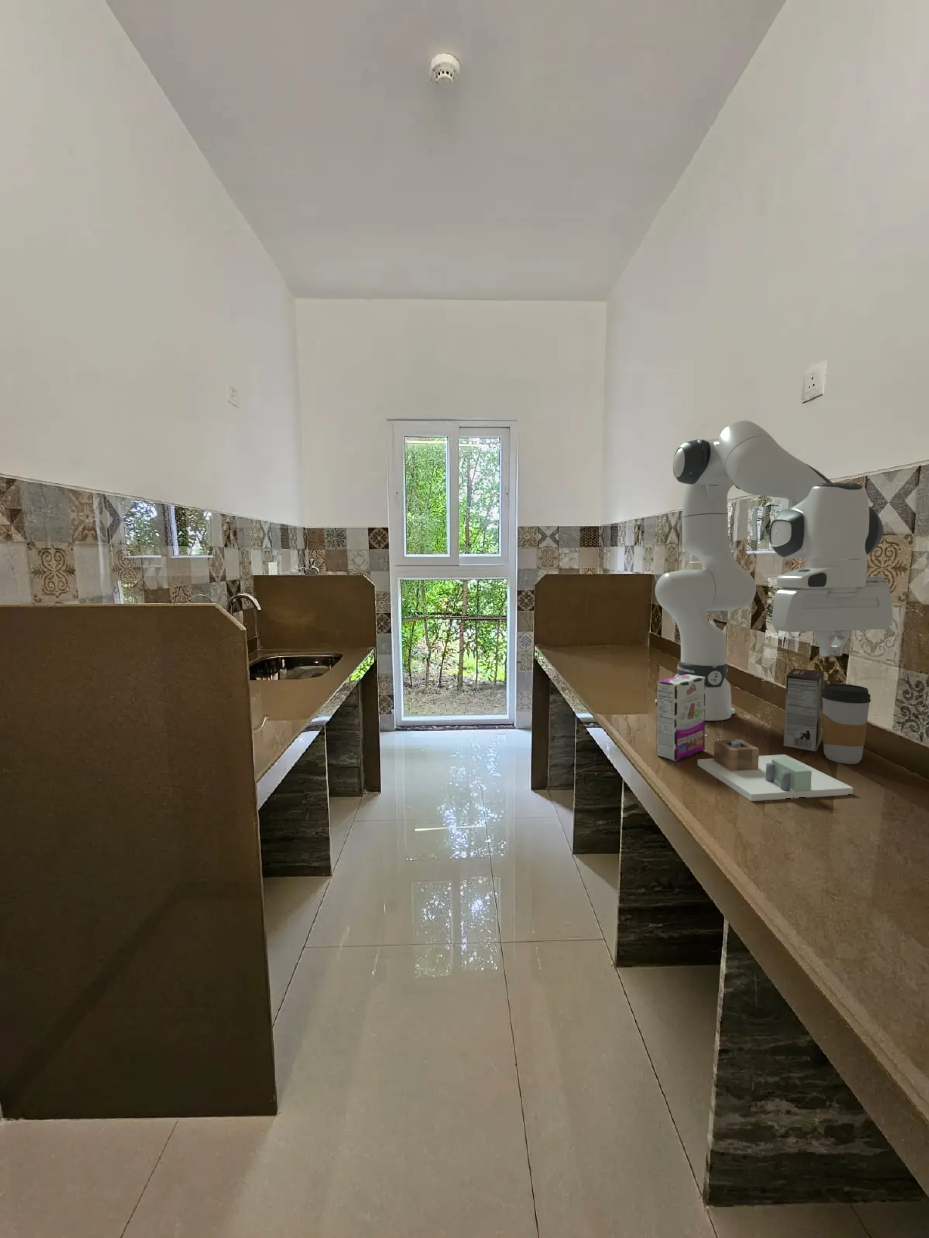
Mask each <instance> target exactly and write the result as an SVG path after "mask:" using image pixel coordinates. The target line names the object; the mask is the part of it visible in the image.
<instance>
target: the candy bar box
mask: <svg viewBox="0 0 929 1238" xmlns="http://www.w3.org/2000/svg"><path fill="white" fill-rule="evenodd" d="M656 699H657V704H656V756H657V757H659V756H661V757H664V758H663V759H665V758H666V759H665V760H667V761H669V760H670V761H672V762H679V761H681V760H684V759H686V758H689V757H692V756H694V755H696V754H698V753H701V752H703V751H705V747H706V746H705V743H706V734H705V733H706V730H705V728H706V720H705V677H702V676H696V675H691V674H685V675H681V676H677V677H674V676H673V677H669V678H665V679H661V680H656ZM661 757H660V758H661Z"/></svg>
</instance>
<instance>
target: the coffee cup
mask: <svg viewBox="0 0 929 1238" xmlns="http://www.w3.org/2000/svg"><path fill="white" fill-rule="evenodd" d="M821 697H822V701H823V710H822V741H823V754H824V755H825V758H826V759H828V760H830V761H833V762H835V763H840V764H848V765H849V764H850V765H854V764H857V765H858V764H859V763H860V762H861V760H862V758H863V753H864V752H863V751H864V747H865V742H866V733H867V728H868V717H869V716H868V715H869V708H870V703H871V701H872V700H871V693H869V688H867V687H864V686H862V685H861V686H860V685H854V684H846V683H827V684H824V686H823V690H822V695H821Z"/></svg>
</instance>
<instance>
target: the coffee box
mask: <svg viewBox="0 0 929 1238" xmlns="http://www.w3.org/2000/svg"><path fill="white" fill-rule="evenodd" d="M824 679H825V672H824V671H818V670H817V671H816V670H815V671H814V670H810V669H802V668H801V669H800V668H791V670H790V671H789V672H788V673H787V674H786V682H785V683H786V684H785V686H786V687H785V688H786V689H785V704H784V705H785V706H784V707H785V708H784V710H785V711H784V728H783V729H784V730H783V731H784V732H783V746H784V747H789V748H793V749H794V748H795V749H799V750H800V749H801V750H806V751H811V752H817V751H818V748H819V746H820V744H821V741H822V735H823V719H822V713H823V701H822V697H821V695H822V690H823V689H824V687H825V684H824V681H825V680H824Z"/></svg>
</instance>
